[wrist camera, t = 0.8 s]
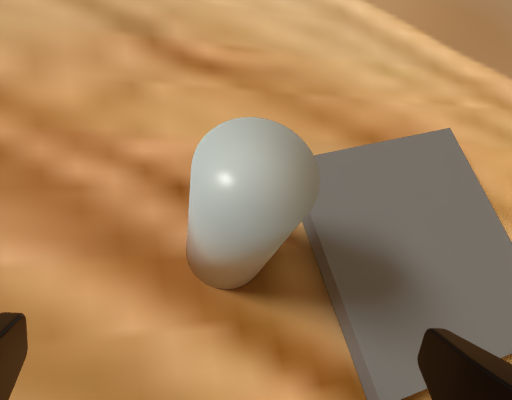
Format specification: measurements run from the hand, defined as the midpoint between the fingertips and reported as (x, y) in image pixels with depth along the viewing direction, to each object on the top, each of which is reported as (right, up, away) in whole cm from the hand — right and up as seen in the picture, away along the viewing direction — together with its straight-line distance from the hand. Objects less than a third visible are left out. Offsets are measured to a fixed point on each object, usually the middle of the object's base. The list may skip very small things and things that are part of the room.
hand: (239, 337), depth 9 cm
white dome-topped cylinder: (-1, 0, +14) cm, 14 cm away
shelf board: (+10, 0, +16) cm, 19 cm away
